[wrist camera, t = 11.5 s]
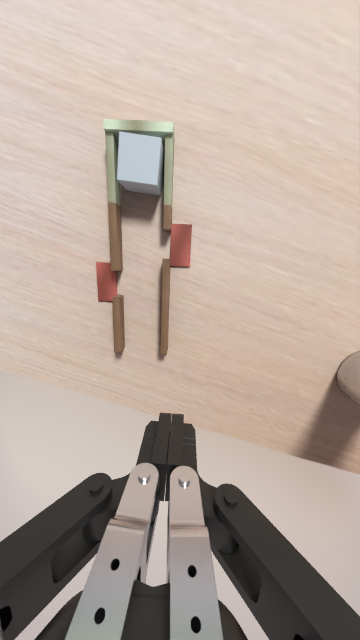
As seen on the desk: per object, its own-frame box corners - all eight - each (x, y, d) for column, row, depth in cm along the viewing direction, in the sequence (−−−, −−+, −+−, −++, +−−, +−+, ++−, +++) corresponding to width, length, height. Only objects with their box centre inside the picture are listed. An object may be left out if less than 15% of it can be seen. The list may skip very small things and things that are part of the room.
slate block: (164, 155, 30) (161, 137, 25) (160, 195, 31) (157, 185, 27) (128, 150, 30) (119, 131, 25) (126, 190, 31) (117, 179, 27)
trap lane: (196, 136, 29) (197, 123, 26) (185, 349, 37) (185, 356, 34) (89, 132, 29) (78, 117, 26) (101, 345, 37) (94, 352, 34)
